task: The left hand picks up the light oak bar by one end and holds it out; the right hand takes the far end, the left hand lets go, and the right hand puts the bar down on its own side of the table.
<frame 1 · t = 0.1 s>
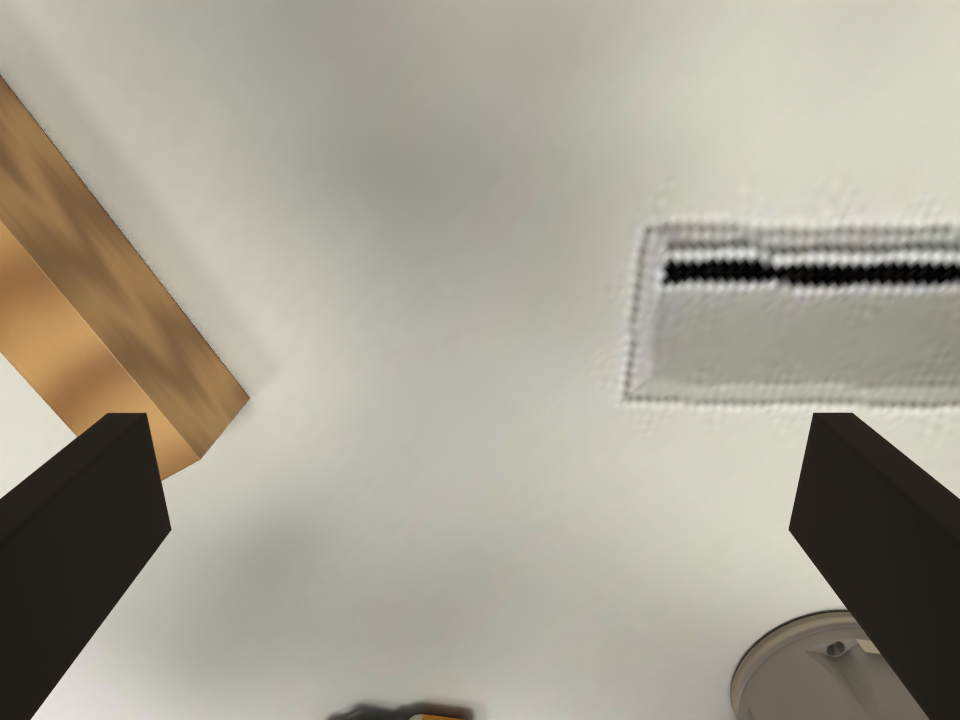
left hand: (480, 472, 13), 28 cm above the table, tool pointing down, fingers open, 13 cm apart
bar: (91, 253, 39), on the table
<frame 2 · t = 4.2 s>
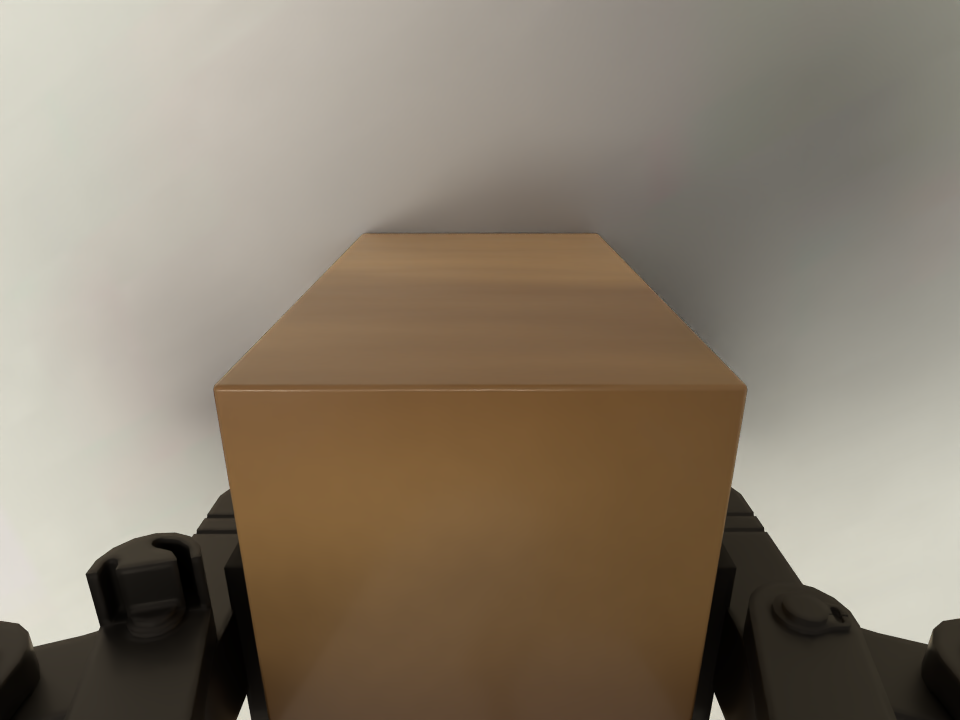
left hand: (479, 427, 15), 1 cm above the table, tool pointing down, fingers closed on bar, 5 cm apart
bar: (480, 681, 18), on the table, touching left hand
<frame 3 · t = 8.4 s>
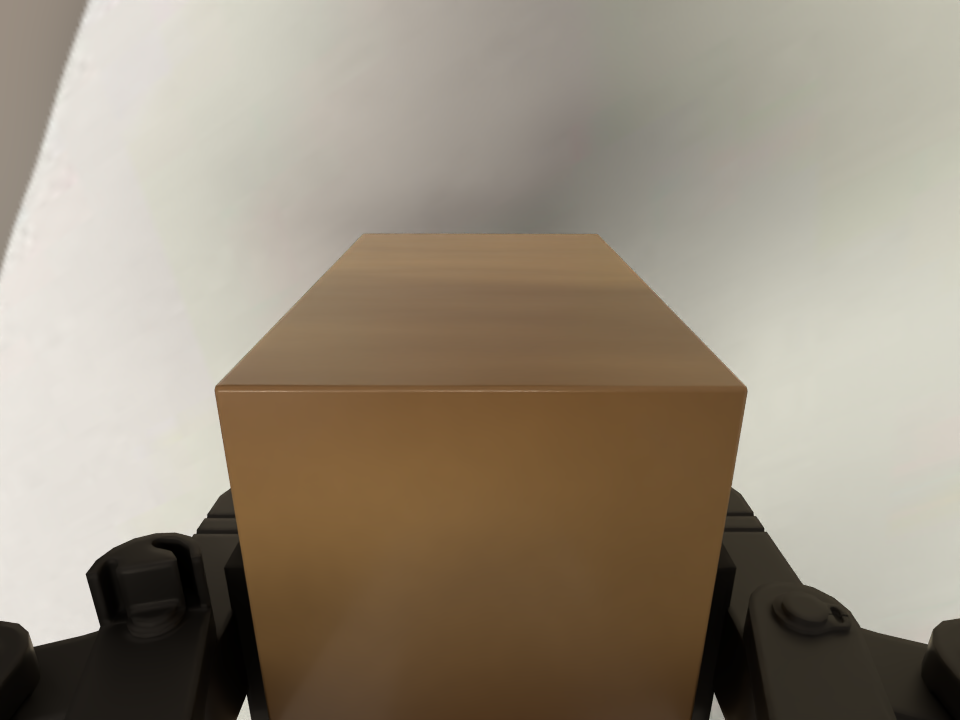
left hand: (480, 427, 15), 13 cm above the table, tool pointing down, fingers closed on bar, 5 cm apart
bar: (479, 681, 18), point 12 cm above the table, touching left hand, right hand
when the left hand's fingers open (13 cm above the table, at t = 9.2 s): bar stays where it is, held by the right hand.
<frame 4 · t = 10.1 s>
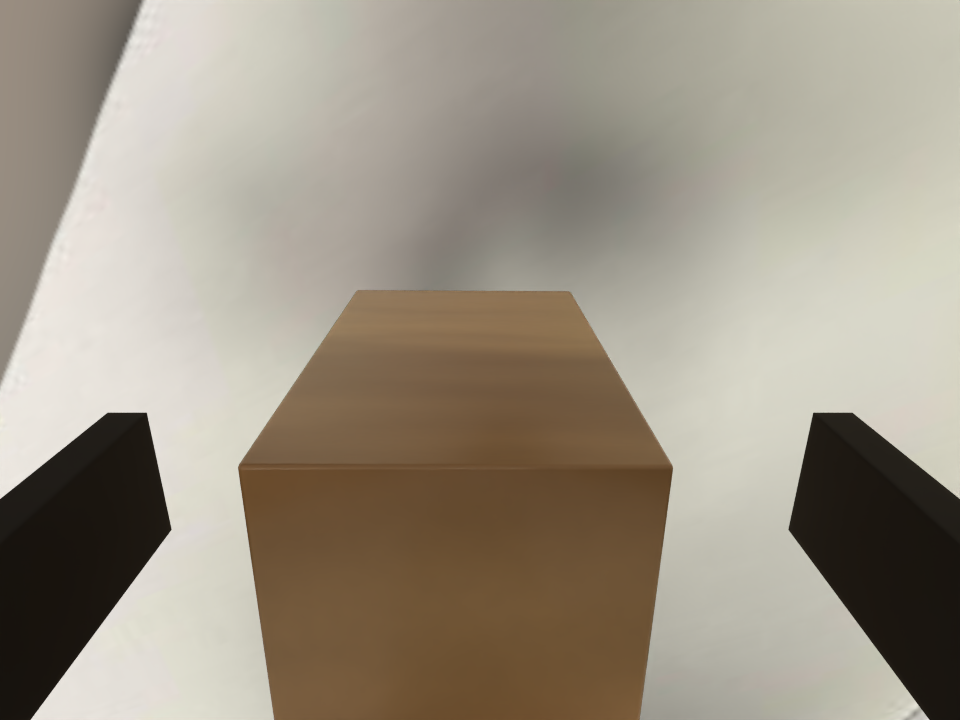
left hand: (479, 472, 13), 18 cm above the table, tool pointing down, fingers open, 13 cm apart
bar: (463, 697, 19), point 15 cm above the table, touching right hand
when the right hand's fingers open (2 cm above the table, at t = 13.7 s): bar drops 1 cm, on the table.
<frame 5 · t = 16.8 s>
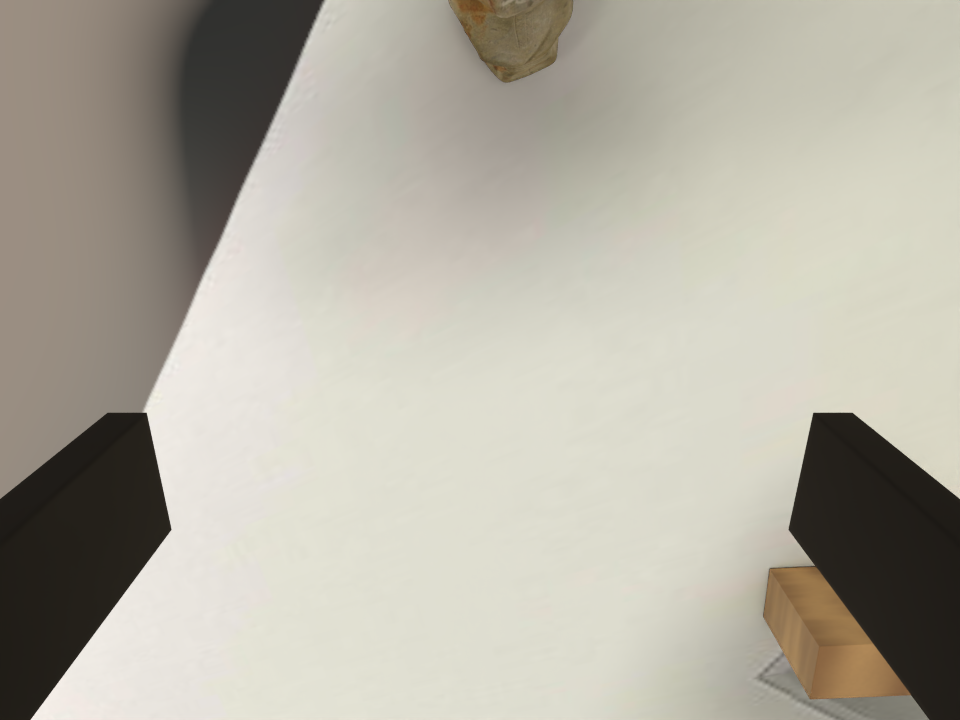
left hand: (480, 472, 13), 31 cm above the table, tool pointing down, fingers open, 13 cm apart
bar: (922, 585, 52), on the table
sculpture: (504, 15, 37), on the table
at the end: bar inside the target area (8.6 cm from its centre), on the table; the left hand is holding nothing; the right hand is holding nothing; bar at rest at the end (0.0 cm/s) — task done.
